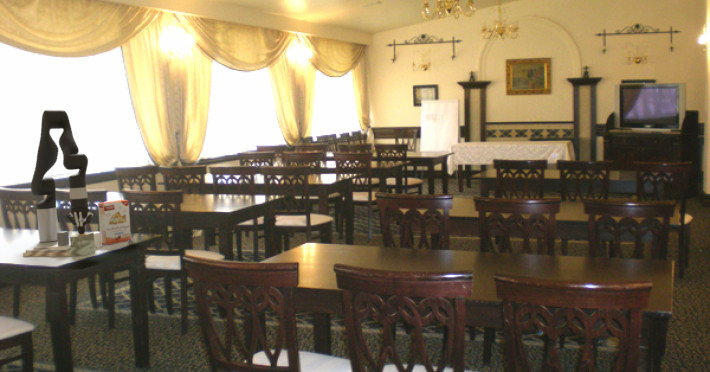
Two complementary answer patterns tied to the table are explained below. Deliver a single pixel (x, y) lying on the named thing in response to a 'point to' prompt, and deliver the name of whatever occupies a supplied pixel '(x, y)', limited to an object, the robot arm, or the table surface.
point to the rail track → (79, 247)
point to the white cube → (97, 238)
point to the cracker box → (114, 221)
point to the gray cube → (62, 241)
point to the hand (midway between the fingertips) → (81, 233)
